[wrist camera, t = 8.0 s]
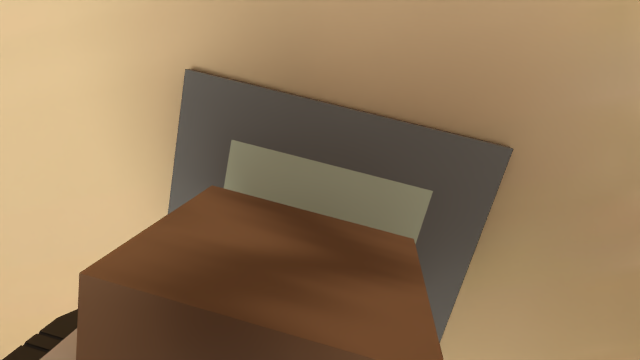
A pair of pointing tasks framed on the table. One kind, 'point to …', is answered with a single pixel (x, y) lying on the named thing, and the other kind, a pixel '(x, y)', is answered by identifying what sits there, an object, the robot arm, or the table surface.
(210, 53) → the table surface
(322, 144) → the grey flat square slab
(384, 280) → the walnut block
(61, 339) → the robot arm
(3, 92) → the table surface
